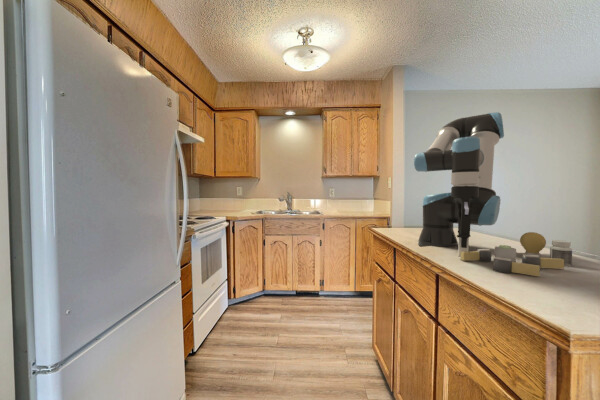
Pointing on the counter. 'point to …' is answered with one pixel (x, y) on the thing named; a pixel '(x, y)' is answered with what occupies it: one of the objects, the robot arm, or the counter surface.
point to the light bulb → (532, 243)
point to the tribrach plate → (505, 252)
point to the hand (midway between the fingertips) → (463, 256)
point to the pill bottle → (561, 251)
